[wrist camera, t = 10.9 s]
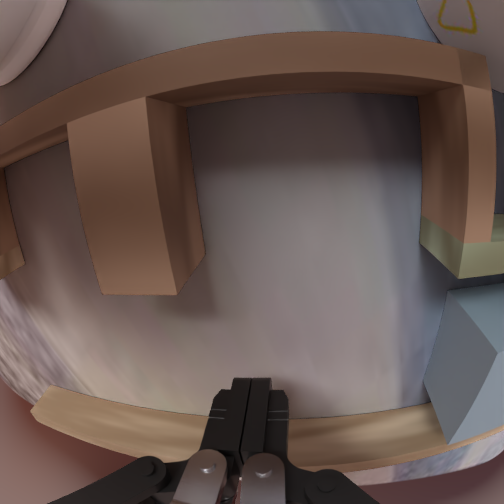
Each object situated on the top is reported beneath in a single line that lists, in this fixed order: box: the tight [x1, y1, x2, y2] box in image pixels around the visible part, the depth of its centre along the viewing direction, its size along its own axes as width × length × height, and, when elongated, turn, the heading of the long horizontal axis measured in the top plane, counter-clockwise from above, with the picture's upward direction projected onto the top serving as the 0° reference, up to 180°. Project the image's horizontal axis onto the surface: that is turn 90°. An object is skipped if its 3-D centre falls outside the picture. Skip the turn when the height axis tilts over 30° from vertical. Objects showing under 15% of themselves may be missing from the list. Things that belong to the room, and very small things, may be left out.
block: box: [423, 283, 504, 445], centre depth 10 cm, size 6×7×5 cm
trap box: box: [0, 31, 504, 473], centre depth 11 cm, size 19×35×4 cm, turn 96°
